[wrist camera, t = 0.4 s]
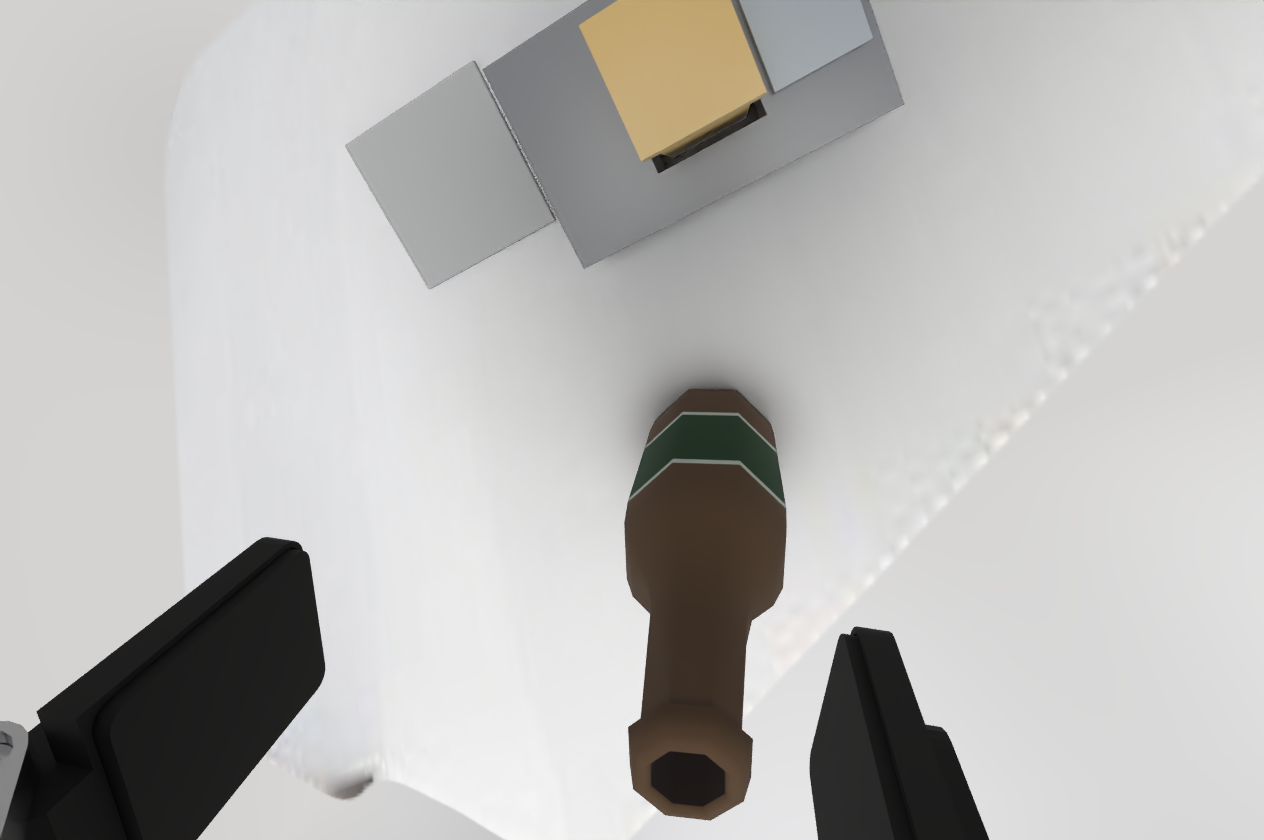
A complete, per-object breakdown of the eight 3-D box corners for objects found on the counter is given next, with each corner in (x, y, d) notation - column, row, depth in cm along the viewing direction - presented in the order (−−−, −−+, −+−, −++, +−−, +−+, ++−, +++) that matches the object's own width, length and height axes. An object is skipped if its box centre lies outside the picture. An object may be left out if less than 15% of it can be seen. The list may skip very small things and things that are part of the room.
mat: (474, 61, 33) (472, 60, 33) (555, 220, 36) (554, 220, 35) (347, 145, 36) (344, 145, 36) (430, 288, 38) (428, 289, 38)
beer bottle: (678, 511, 41) (619, 896, 19) (630, 408, 39) (501, 708, 17) (793, 474, 39) (873, 860, 17) (748, 363, 37) (775, 640, 15)
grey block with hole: (804, -99, 29) (822, -164, 23) (878, 114, 32) (910, 101, 26) (516, 84, 33) (474, 66, 28) (602, 256, 36) (579, 271, 31)
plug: (716, 26, 31) (707, -59, 20) (754, 120, 32) (766, 91, 21) (631, 77, 33) (578, 25, 21) (670, 166, 34) (641, 161, 23)
